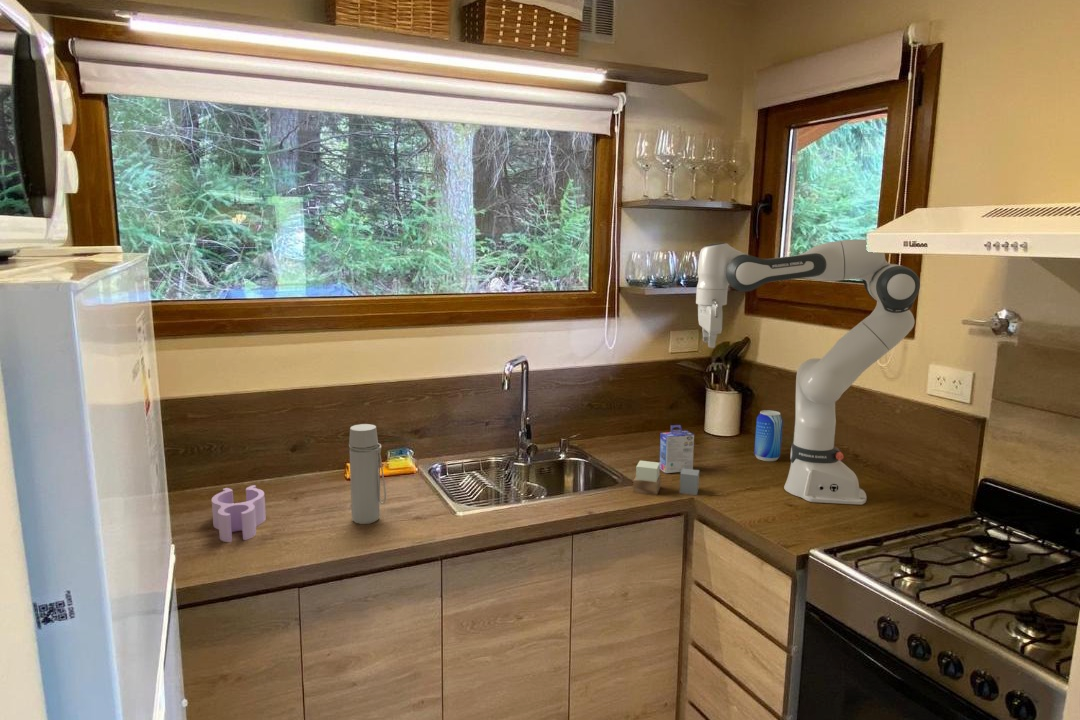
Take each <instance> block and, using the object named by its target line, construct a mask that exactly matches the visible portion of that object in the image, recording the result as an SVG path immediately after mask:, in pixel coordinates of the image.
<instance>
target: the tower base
mask: <svg viewBox="0 0 1080 720" xmlns="http://www.w3.org/2000/svg"><path fill="white" fill-rule="evenodd" d="M661 479H662V475H661V474H659V477H658V479H657V482H652V481H643V480H636V475H635V477H634V478H633V481H632V482H633V486H632V493H634V494H635V493H637V494H642V495H643V494H645V495H652V496H658V494H659V492H660V489H661V484H662V483H661V482H662V481H661Z"/></svg>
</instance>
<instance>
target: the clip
mask: <svg viewBox="0 0 1080 720" xmlns="http://www.w3.org/2000/svg"><path fill="white" fill-rule="evenodd" d="M222 490H223V491H220V492H218V493H216V494H214V495H213V496H212V498H211V512H212V524H213V528H215V529H216V530H218V531H219V533H218V534H219V535H218V536H219V540H220V541H221V542H225V543H230V542H232V541H233V532H238V531H242V532H241V533H242V540H244V541H248V540H249V539H252V538H253V537H255V536H256V534H257V527H258V526H260V525H261V524H263V523H264V522H265V521H266V518H267V517H266V499H265V492H264V490H262V489H260V488H257V485H255V484H254V485H252V484H251V485H250V486H248V487H246V488H245V498H246V500H245V501H241V502H236V503H234V493H233V488H230V487H225V488H222Z"/></svg>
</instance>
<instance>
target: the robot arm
mask: <svg viewBox="0 0 1080 720" xmlns="http://www.w3.org/2000/svg"><path fill="white" fill-rule="evenodd" d="M866 240H867V239H862V238H861V239H843V240H834V241H829V242H825V243H821V244H819V245H814V246H813V247H811V248H810V249H808V250H807V251H805V252H803V253H799V254H796V255H790V256H781V257H773V258H760V257H757V256H754V255H750V254H747V253H745V252H742V251H740V250H738V249H736V248H734V247H732V246H731V245H730V244H729V243H728V242H723V241H722V242H716V243H710V244H709V243H708V244H706V245H704V246H703V247H702V248H701V249H700V252H699V255H698V263H697V277H698V280H697V281H698V282H697V285H696V291H695V292H696V293H695V304H696V305H697V317H698V318H697V320H698V326H700V327H701V328H702V330H701V331H702V341H703V343H705V344H707V347H708V348H710V349H714V348H716V342H717V338H718V335H720V334H722V331H723V306H726V305H727V304H728V288H729V286H730V287H731V288H732V289H734V290H736V291H738V292H745V293H746V292H751V291H754V290H756V289H758V288H759V287H761V286H763V285H765V284H769V283H772V282H779V281H780V282H781V281H787V280H795V279H796V280H797V279H806V280H813V281H820V282H821V281H822V282H824V281H825V282H835V281H836V282H839V281H847V280H862V281H861V282H862V283H863V285H864V289H865V290H866V293H867V294H868V295H869V297H870V298H872V299H873V300H874V301H876V305H875V308H874V309H873V310H872V312H871V313H870V314H869V315H868V316H867V317H865V318H864V319H862V320H861V321H860V322H859V323H857V325H855V326H854V327H852V328H851V329H849V331H848V332H846V333H845V334H844V335H842V337H840V338H839V339H838V340H836V342H835V343H834V345H833V346H832V347H831V348H830V349H829V351H828V352H826V353H825V354H824V355H823V356H822V357H821V358H809V359H807V360H804V361H803V362H802V363H801V364H800V365H799V366H798V368H797V371H796V377H795V378H796V379H795V419H794V430H793V442H792V443H791V446H790V447H791V448H790V454H789V455H790V458H789V459H790V467H789V471H788V475H787V478H786V481H785V484H784V486H783V488H784V490H785V491H786V492H787V493H789V494H790V495H793V496H796V497H799V498H802V499H803V500H805V501H807V502H810V503H820V504H821V503H822V504H823V503H826V504H842V505H864V504H865V503H867V493H866V492H865V490H864V489H863V488H861V487H860V485H859V484H860V483H859V479H858V476H857V475H856V473H855V472H854V471H853V470H852V469H851V468H850V467H848V466H847V465H846V464H845V463H844V462H843V461H842V460H843V459H844V457H845V456H844V454H843V452H842V451H841V450H840V449H839V448H838V447H837V446H835V437H836V436H835V435H836V424H837V420H836V402H837V401H838V400H839V399H840V398H841V396H842V395H843V394H844V392H846V391H847V390H848V389H849V388H850V387H851V386H852V385H853V384H854V383H855V381H856V380H857V379H858V378H859V377H860V376H861V375H862V374H863V373H864V372H865V371H866V370H867V369H869V368H870V367H871V366H872V365H874V364H875V363H876V362H878V361H879V359H881V358H883V357H884V356H885V355H886V354H887V353H889V352H890V351H891V350H892V349H894V348H895V347H896V346H898V344H900V342H901V341H903V339H905V337H907V336H908V334H909V333H910V332H911V331H912V330H913V328H914V326H915V323H916V322H915V321H916V320H915V318H914V317H915V316H914V314H913V312H912V311H911V309H912V308H913V306H914V302H915V300H916V298H917V297H918V294H919V292H920V288H921V283H920V277H919V276H918V275H917V273H916V272H915V271H914V270H913V269H912V268H910V267H907V266H904V265H901V264H896V263H895V264H894V263H890V262H888V261H887V260H886V253H873V252H868V251H867V250H866Z"/></svg>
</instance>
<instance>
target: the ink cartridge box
mask: <svg viewBox="0 0 1080 720" xmlns="http://www.w3.org/2000/svg"><path fill="white" fill-rule="evenodd" d="M674 428H678V429H674ZM659 437H660V440H659V441H660V443H659V444H660V445H659V450H660V451H659V463H660V471H662V472H663V473H664V474H670V473H672V474H673V473H681V471H682V468H683V469H693V470H694V449H695V448H694V446H695V433H692V432H690V431H688V430H683V429H682V426H681V424H674V425H671V424H670V431H669V432H660V435H659Z"/></svg>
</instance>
